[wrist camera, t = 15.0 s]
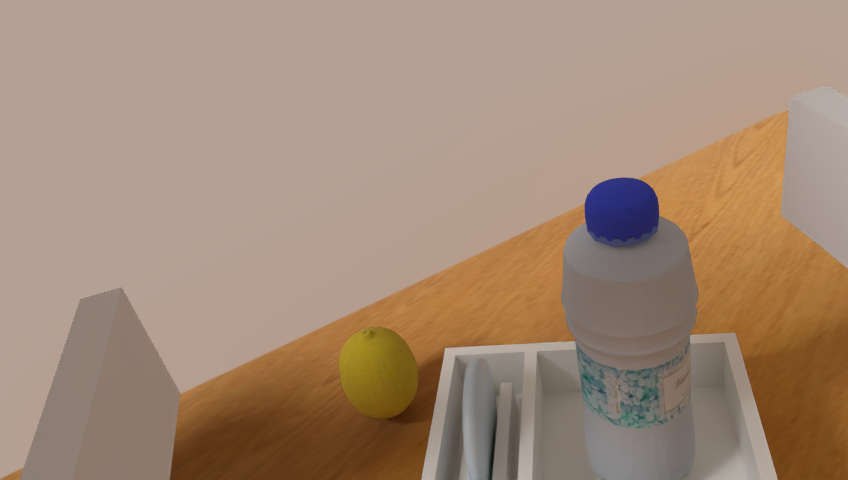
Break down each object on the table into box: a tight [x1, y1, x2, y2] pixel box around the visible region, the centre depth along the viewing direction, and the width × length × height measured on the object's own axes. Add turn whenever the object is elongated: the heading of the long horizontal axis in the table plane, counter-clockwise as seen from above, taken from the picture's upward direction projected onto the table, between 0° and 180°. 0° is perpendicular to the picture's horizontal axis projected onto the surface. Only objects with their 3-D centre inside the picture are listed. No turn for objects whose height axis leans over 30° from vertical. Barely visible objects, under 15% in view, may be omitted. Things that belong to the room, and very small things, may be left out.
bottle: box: [561, 178, 698, 480], centre depth 39 cm, size 7×7×20 cm
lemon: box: [339, 327, 419, 419], centre depth 52 cm, size 6×6×8 cm
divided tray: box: [421, 333, 778, 480], centre depth 43 cm, size 19×14×9 cm
